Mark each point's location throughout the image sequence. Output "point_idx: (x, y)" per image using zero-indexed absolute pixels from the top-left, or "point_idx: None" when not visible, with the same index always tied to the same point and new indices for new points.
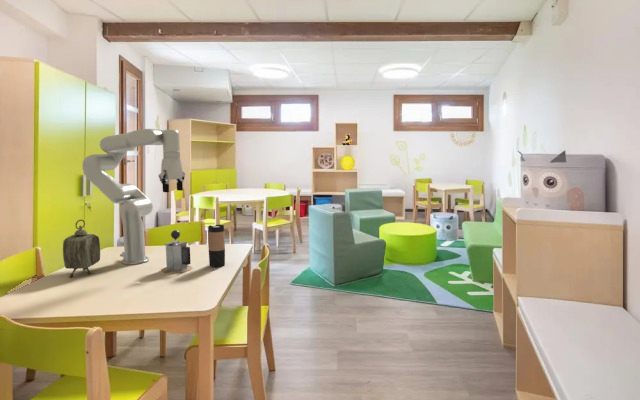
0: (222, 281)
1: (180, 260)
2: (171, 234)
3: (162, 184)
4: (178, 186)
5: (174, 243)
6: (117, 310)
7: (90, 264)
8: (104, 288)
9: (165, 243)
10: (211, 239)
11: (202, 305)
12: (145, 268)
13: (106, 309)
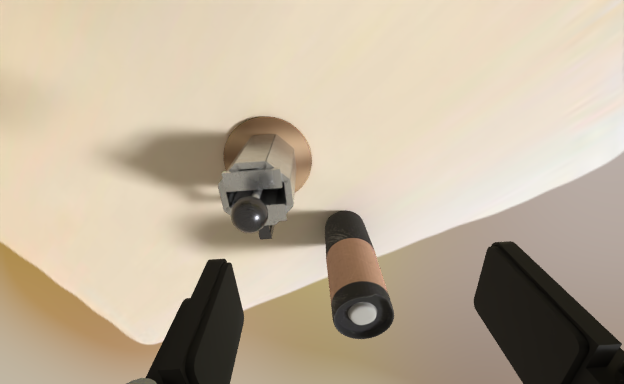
0: (257, 295)
1: None
2: (231, 211)
3: (165, 353)
4: (515, 309)
5: (257, 188)
6: (26, 247)
7: None
8: (49, 110)
9: (225, 174)
10: (329, 284)
11: (148, 332)
12: (232, 50)
13: (10, 227)
